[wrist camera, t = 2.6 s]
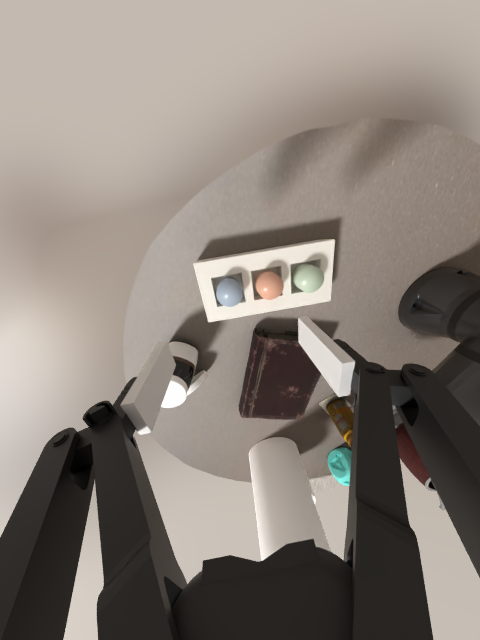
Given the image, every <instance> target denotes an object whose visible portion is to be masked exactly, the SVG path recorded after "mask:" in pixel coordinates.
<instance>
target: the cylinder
mask: <svg viewBox="0 0 480 640" xmlns="http://www.w3.org/2000/svg"><path fill="white" fill-rule="evenodd" d="M249 461H250V469H251V477H252V486H253V494H254V502H255V511H256V519H257V528H258V536H259V544H260V553H261V560H262V561H263V560H264V559H266V558H267V557H268V556H270V555H271V554H273V553H274V552H276V551H277V550H279V549H280V548H281V547H283V546H284V545H286V544H289V543H294V542H299V541H304V540H309V539H314V542H315V545H316V547H320V548H323V549H325V550H328V551H330V552H331V550H330V547H329V545H328V542H327V539H326V536H325V533H324V530H323V527H322V524H321V521H320V518H319V516H318V513H317V510H316V507H315V502H316V499H315V496H314V493H313V490H312V488H311V485H310V482H309V479H308V476H307V473H306V471H305V468H304V465H303V462H302V459H301V457H300V454H299V451H298V448H297V445H296V443H295V442H294V441H293V440H291V439H288V438H284V437H273V438H268V439H265V440H262V441H260V442H258V443H257V444H256V445H254V446H253V447H252V448H251V450H250V452H249Z"/></svg>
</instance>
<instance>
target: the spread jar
mask: <svg viewBox="0 0 480 640" xmlns="http://www.w3.org/2000/svg"><path fill="white" fill-rule="evenodd" d="M168 346H169V348H170V351H171V353H172V356H173V358H174V361H175V363H176V366H175V369H174V372H173V375H172V377H171V380H170V383H169V386H168V388H167V391H166V394H165V397H164V399H163V402H162V405H161V407H164V408H172V407H176V406H178V405H180V404H182V403H183V402H184V401H185V399H186V396H187V395H189V394H190V393H192V392H193V391H194V390H195V389H196V388H198V387H199V386H200V385H201V384H202V383H203V381H204V380H205V379H206V378H207V376H208V374H207V373H206V372H205V370H203V371H201V372H199V373H198V374H197V375H195V376H194V373H195V369H196V364H197V359H198V350H197V349H196V348H195V347H193V346H192V345H190V344H187V343H184V342H179V341H174V342H170V343H169V344H168Z"/></svg>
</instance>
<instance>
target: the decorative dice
mask: <svg viewBox="0 0 480 640" xmlns="http://www.w3.org/2000/svg"><path fill="white" fill-rule="evenodd" d="M351 452H352V451H350V450H349V449H347V448H344V447H340V448H336V449H334V450H332V451H331V452H330V453H329V456H328V466H329V469H330V471H331V473H332V474H333V476H334V477H335V478H336V480H337V481H338V482H340V483H341V484H342V485H345V486H349V485H350V468H351Z"/></svg>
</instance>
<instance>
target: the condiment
mask: <svg viewBox="0 0 480 640" xmlns="http://www.w3.org/2000/svg"><path fill="white" fill-rule="evenodd" d="M327 402H328V403H327ZM318 404H319V405H320V406H321V407H322V408H323V409H324V410H325V411H326V412H327V414H328V415H329V416H330V417H331V418H332V420H333V422H334V423H335V425H336V427H337V428H338V430H339V432H340V433H341V435H342V437H343V439H344V440H345V441H347V442H348V444H349V446H350V447H351V449H352V435H353V418H354V413H353V412H352V411H351V409H350V408H349V407H350V406H351V405H350V403H349V402H348V401H347V400H346V398H345V397H344V396H342V397H338V396H337V394H334V395H332V396H330V397H329V398H326V399H325V400H323V401H322V402H320V403H318Z"/></svg>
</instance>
